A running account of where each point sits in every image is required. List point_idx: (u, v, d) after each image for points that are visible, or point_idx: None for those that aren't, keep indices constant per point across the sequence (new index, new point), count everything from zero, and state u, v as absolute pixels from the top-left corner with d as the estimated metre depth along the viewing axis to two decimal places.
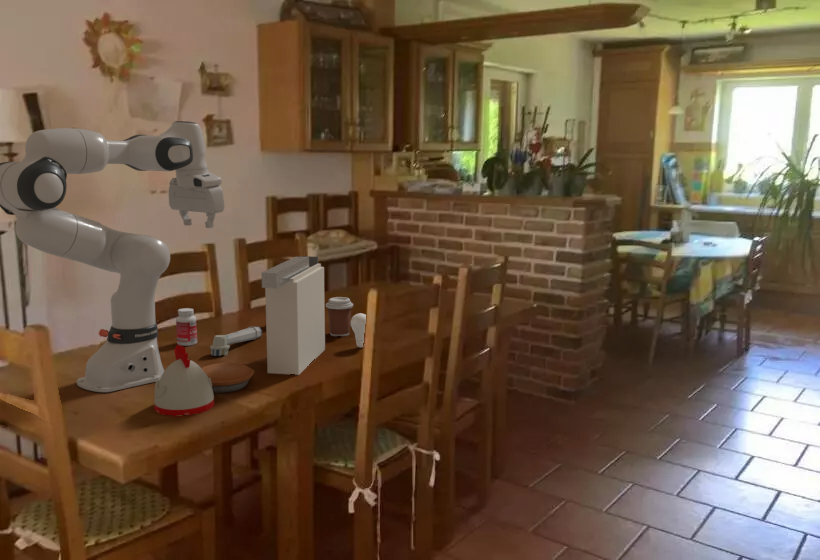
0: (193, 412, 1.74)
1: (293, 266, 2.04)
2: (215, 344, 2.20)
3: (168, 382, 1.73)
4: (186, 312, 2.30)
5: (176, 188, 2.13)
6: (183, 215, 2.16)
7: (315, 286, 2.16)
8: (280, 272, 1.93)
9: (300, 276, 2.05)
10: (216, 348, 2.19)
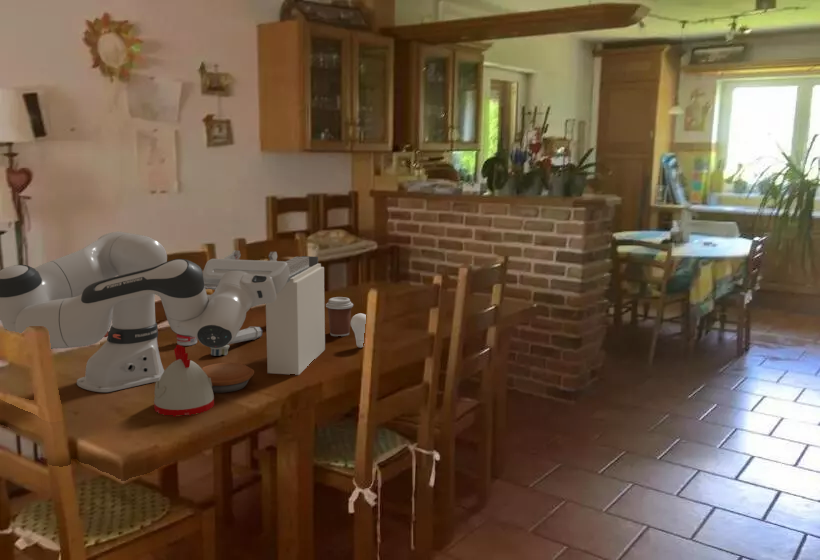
0: (193, 412, 1.74)
1: (293, 266, 2.04)
2: None
3: (168, 382, 1.73)
4: None
5: None
6: None
7: (315, 286, 2.16)
8: None
9: (300, 276, 2.05)
10: (216, 348, 2.19)
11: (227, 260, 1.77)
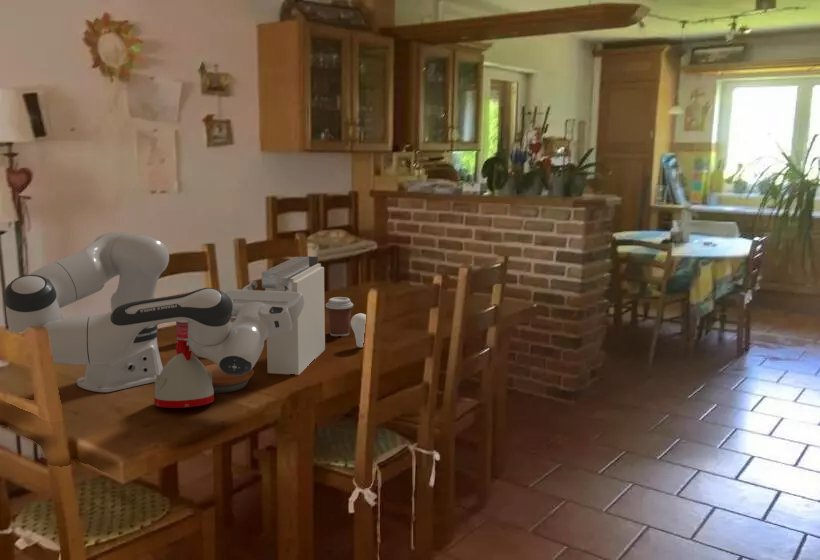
0: (193, 403, 1.73)
1: (293, 266, 2.04)
2: None
3: (169, 374, 1.74)
4: None
5: None
6: None
7: (315, 286, 2.16)
8: (280, 272, 1.93)
9: (300, 276, 2.05)
10: None
11: (246, 290, 1.87)
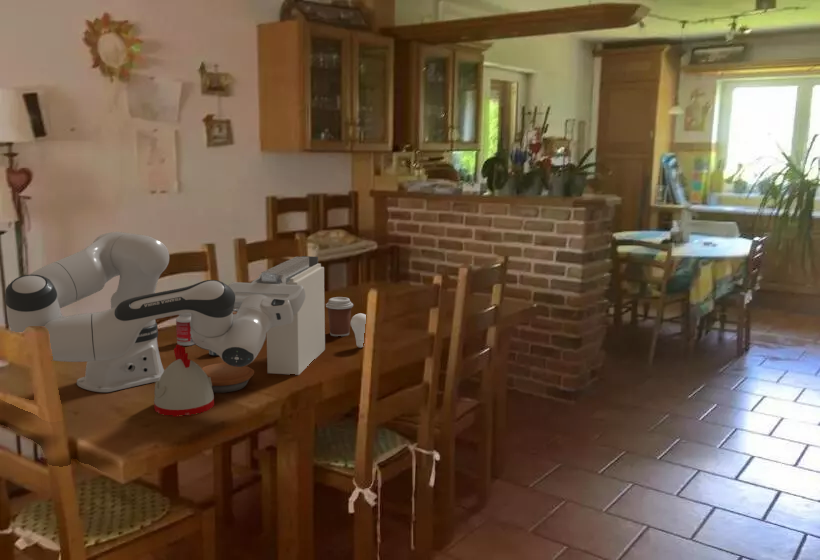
0: (193, 412, 1.74)
1: (293, 266, 2.04)
2: None
3: (168, 382, 1.73)
4: None
5: None
6: None
7: (315, 286, 2.16)
8: (280, 272, 1.93)
9: (300, 276, 2.05)
10: None
11: (247, 283, 1.90)
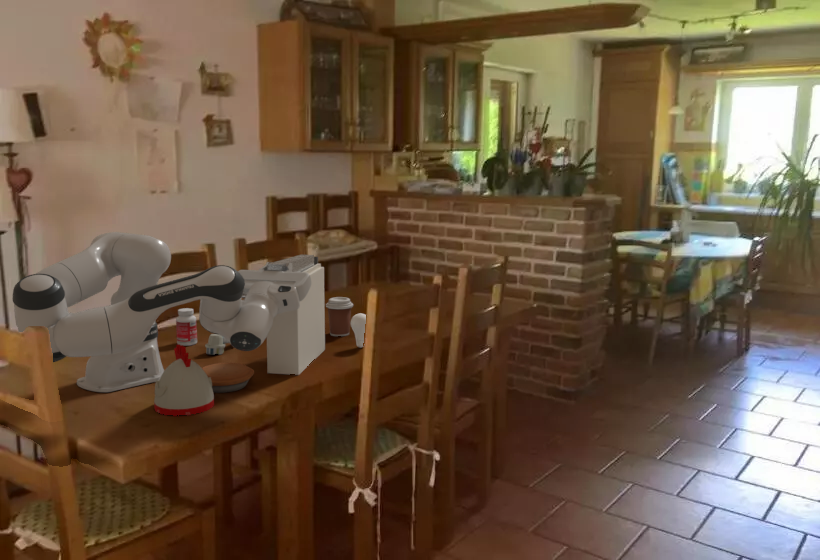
0: (194, 411, 1.74)
1: (298, 261, 2.07)
2: (210, 343, 2.22)
3: (169, 382, 1.73)
4: (186, 312, 2.30)
5: None
6: None
7: (315, 286, 2.16)
8: None
9: None
10: (210, 347, 2.20)
11: (255, 271, 1.94)
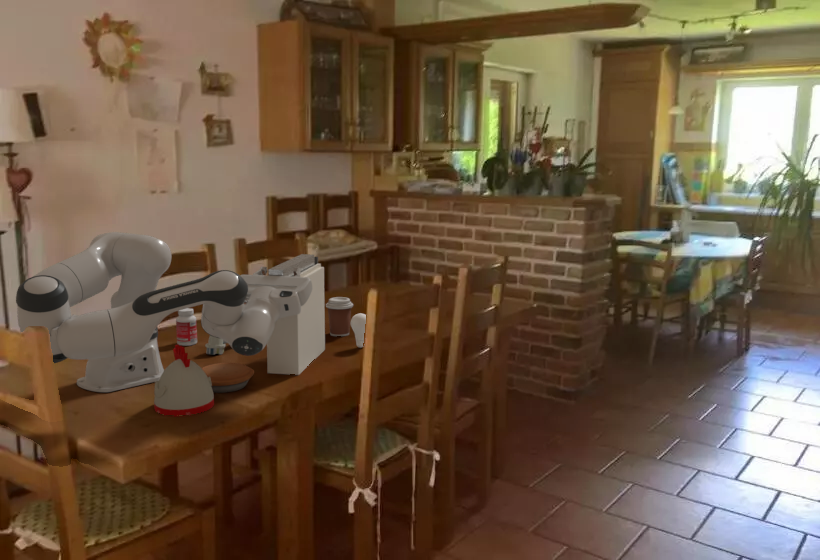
0: (194, 411, 1.74)
1: (299, 263, 2.08)
2: (210, 343, 2.22)
3: (169, 382, 1.73)
4: (186, 312, 2.30)
5: None
6: None
7: (315, 286, 2.16)
8: (286, 269, 1.98)
9: None
10: (211, 346, 2.21)
11: (256, 275, 1.95)
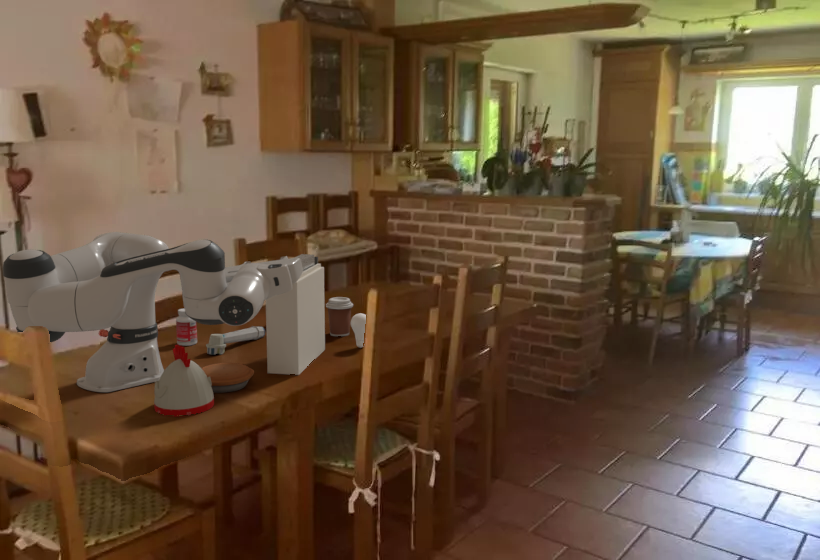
0: (195, 411, 1.74)
1: None
2: (211, 343, 2.22)
3: (169, 382, 1.73)
4: None
5: None
6: None
7: (315, 286, 2.16)
8: None
9: (300, 276, 2.05)
10: (211, 346, 2.21)
11: (240, 265, 1.79)
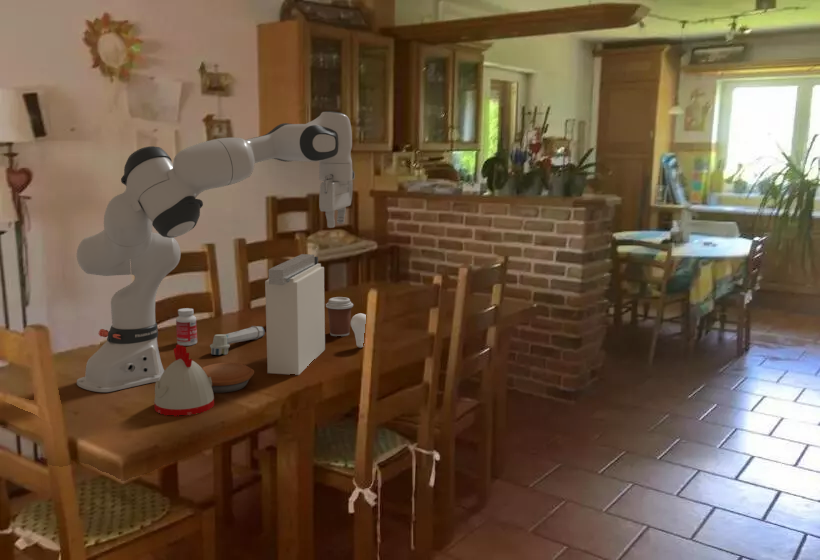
0: (195, 411, 1.74)
1: (299, 263, 2.08)
2: (215, 343, 2.21)
3: (170, 382, 1.73)
4: (186, 312, 2.30)
5: (337, 185, 1.92)
6: None
7: (315, 286, 2.16)
8: (286, 269, 1.98)
9: (300, 276, 2.05)
10: (216, 347, 2.20)
11: None
